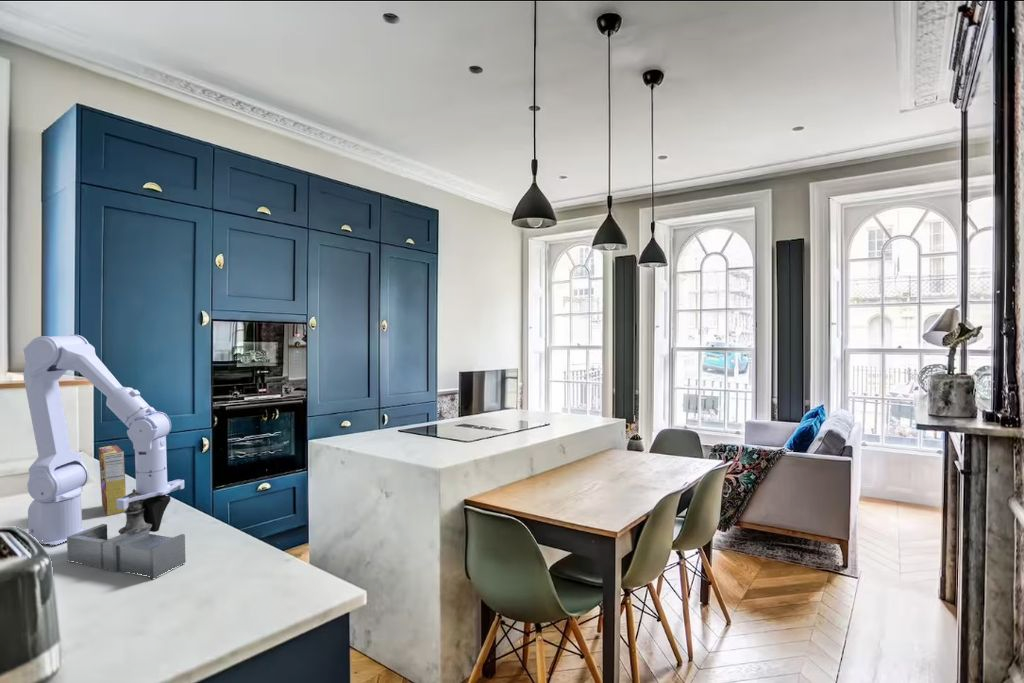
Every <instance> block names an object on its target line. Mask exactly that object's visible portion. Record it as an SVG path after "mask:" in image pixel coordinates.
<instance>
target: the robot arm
mask: <svg viewBox="0 0 1024 683" xmlns="http://www.w3.org/2000/svg"><path fill="white" fill-rule="evenodd" d="M23 353H24V360H25V367H24V370H23V382H24V386H25V392H26V396H27V402H28V407H29V412H30V413H29V414H30V419H31V423H32V429H33V433H34V435H33V436H34V440H35V444H36V449H37V454H38V455H37V458H35V460H34V462H32V464H31V465H30V466H29V468H28V475H29V477H28V481H27V488H26V489H27V492H28V494H29V496H30V497H31V498H32V499H34V500H32V502H31V503H30V504H29V505H28V509H27V521H28V522H27V524H28V525H27V526H28V535H29V534H31V535H32V536H33V537H35V538H36V539H37V540H38V541H39V542H40V543H39V544H43V543H47V544H50V545H49V546H52V545H53V546H54V545H56V546H58V545H57V544H59V545H60V543H61V544H64V543H66V542H65V541H67V537H68V536H71V535H73V534H76V533H79V532H82V531H84V530H87V529H88V528H83V516H82V515H83V514H82V512H83V510H82V493H83V491H84V488H83V487H84V486H85V485H87V483H88V481H89V478H90V472H89V469H88V468H87V467H86V465H85V464H84V461H83V458H82V455H81V454H80V453H78V452H76V451H74V450H72V448H71V442H70V437H69V431H68V426H67V421H66V417H65V416H66V415H65V409H64V404H63V399H62V395H61V394H62V393H61V388H60V384H59V383H60V381H59V380H60V379H61V377H63V375H64V374H66V372H68V371H74V372H78V373H79V374H81V375H82V377H84V378H85V380H87V381H88V382H89V383H90V384H92V385H93V387H95V388H96V389H97V390H98V391H99V392H101V393H102V394H103V395H104V396H106V402H105V404H106V407H107V408H108V409H109V410H111V412H112V414H113V413H114V415H115V416H116V417H117V418H118V419H119V420H120V421H121V422H122V423H123V424H124V425H125V426H126V427H127V428H128V429H127V430H126V434H127V437H128V439H129V440H130V441H131V443H132V446H133V447H132V448H133V450H134V465H135V466H134V467H135V490H136V491H135V492H137V493H140V494H141V495H142V496H136V497H133V498H129V497H127V496H128V495H129V494H131V493H133V491H131V492H130V493H129V494H126V496H124V497H122V498H119V499H117V500H116V508H117V509H123V510H124V509H127V508H128V507H129V503H130V502H133V501H137V500H141V499H142V500H143V508H145V510H144V511H143V514H144V521H145V522H146V523H150V524H152V527H151V528H150V529H151V530H150V532H152V533H156V532H158V531H160V528H161V524H162V520H163V516H164V514H165V511H166V509H167V507H168V505H169V503H171V495H167V494H169V493H172V492H174V491H177V490H183V489H185V479H174V480H172V481H171V480H170V481H168V466H167V464H168V462H167V461H168V460H167V458H168V457H167V435H169V433H170V432H171V430H172V422H171V418H170V417H169V416H168V414H167V413H165V412H162V411H157V410H156V409H155V408H154V407H153V406H150V405H149V404H148V402H146V401H145V400H144V398H143V397H141V392H140V391H139V390H138V389H134V388H133V387H129V386H128V387H126V386H123V385H122V384H121V383H120V382H119V380H118V379H116V377H115V376H114V375H113V374H112V373H111V371H110V370H109V369H108V367H107V366H106V365H105V364H104V363H103V361H102V360H101V359H100V358H99V357H98V356H97V355H96V348H95V347H94V346H93V345H92V344H91V343H89V341H88V340H87V339H86V338H85V337H84V336H82V335H79V334H70V335H57V336H46V335H45V336H43V335H42V336H37V337H35V338H33V339H32V340H30V342H28V344H27V345H26V346H25V347H24V348H23ZM126 497H127V498H126ZM150 532H149V533H150ZM42 540H43V541H42ZM63 542H64V543H63ZM43 545H44V544H43ZM53 546H52V547H53Z"/></svg>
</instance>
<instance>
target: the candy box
mask: <svg viewBox="0 0 1024 683" xmlns="http://www.w3.org/2000/svg"><path fill="white" fill-rule="evenodd" d="M124 452H125V451H123V450H122V449H121V448H120V447H119V446H118V445H108V446H103V447H98V461H99V474H100V476H99V478H100V479H99V480H100V491H101V493H100V494H101V506H102V508H103V509H104V512H105V513H106V516H113V515H118V514H123V513H124V512H125V511H126V509H124V510H123V509H117V508H116V500H117V499H119V498H122V497H124V496H126V495H127V492H126V472H125V471H126V470H125V454H124Z"/></svg>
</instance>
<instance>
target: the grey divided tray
mask: <svg viewBox="0 0 1024 683" xmlns="http://www.w3.org/2000/svg"><path fill="white" fill-rule="evenodd" d="M86 529H87V530H84V531H82V532H79V533H76V534H73V535H71V536H68V537H67V542H66V548H67V561H68V560H69V561H74V562H78V563H82V564H85V565H84V566H88V565H90V566H89V567H93V566H94V568H98V567H100V569H103V568H106V569H105V570H108V569H111V570H110V571H113V572H114V571H115V572H114V573H118V572H117V571H123V572H122V573H124V572H130V573H135V574H137V573H138V574H142V575H147V576H150V577H149V579H150V578H156V577H157V576H159V575H161V574H163V573H165V572H167V571H168V570H171V569H172V568H175V567H177V566H179V565H181V564H183V563H185V562H187V561H186V535H185V534H183V533H181V534H178V535H175V536H174V537H171V536H164V535H159V534H158V535H157V534H151V533H150V532H149V529H147V528H146V529H143V530H141V531H140V530H138V529H134V530H131V531H129V532H126V533H124V534H121V535H120V534H119V535H117V536H114V537H111V538H109V539H108V524H105V523H102V524H99V525H96V526H94V527H93V526H92V527H91V528H86ZM82 564H81V565H82ZM135 574H134V575H135ZM156 579H157V578H156Z"/></svg>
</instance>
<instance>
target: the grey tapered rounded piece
mask: <svg viewBox="0 0 1024 683" xmlns="http://www.w3.org/2000/svg"><path fill="white" fill-rule="evenodd" d="M135 491H136V488H133V489H132V492H133V493H132V492H130V493H131V494H130V493H129V495H128V494H127V495H128V496H127V497H129V498H133V497H136V496H142V495H141V494H140V493H137V492H135ZM127 497H126V498H127ZM144 510H145V508H143V500H142V499H141V500H137V501H133V502H130V503H129V507H128V508H127V509H126V511H125V512H123V513H124V514H125V515H126V516H125V520H126V522H125V526H123V527H121V528H119V529H118V534H119V535H121V534H124V533H126V532H129V531H131V530H134V529H138V530H140V531H141V530H143V529H146V528H147V529H149V533H150V530H151V529H150V528H151V527H152V524H150V523H146V522H145V521H144V514H143V511H144Z"/></svg>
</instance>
